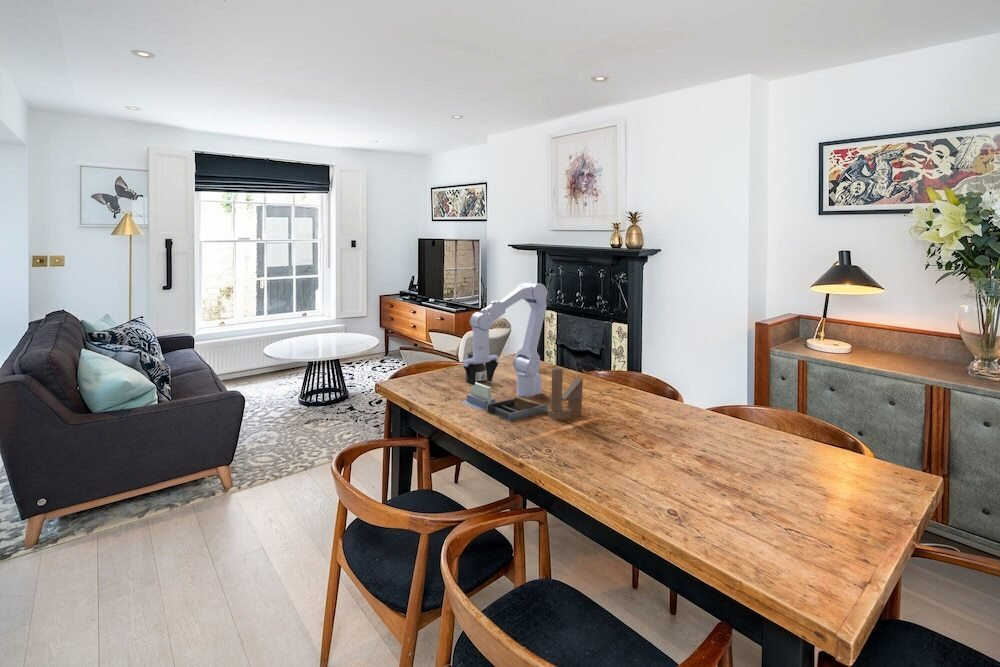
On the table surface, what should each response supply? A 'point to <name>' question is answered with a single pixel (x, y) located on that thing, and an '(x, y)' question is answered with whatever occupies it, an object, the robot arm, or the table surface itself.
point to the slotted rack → (513, 410)
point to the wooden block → (565, 397)
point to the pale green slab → (481, 392)
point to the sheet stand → (476, 402)
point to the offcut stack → (524, 403)
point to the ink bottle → (478, 371)
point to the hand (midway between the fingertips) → (481, 382)
